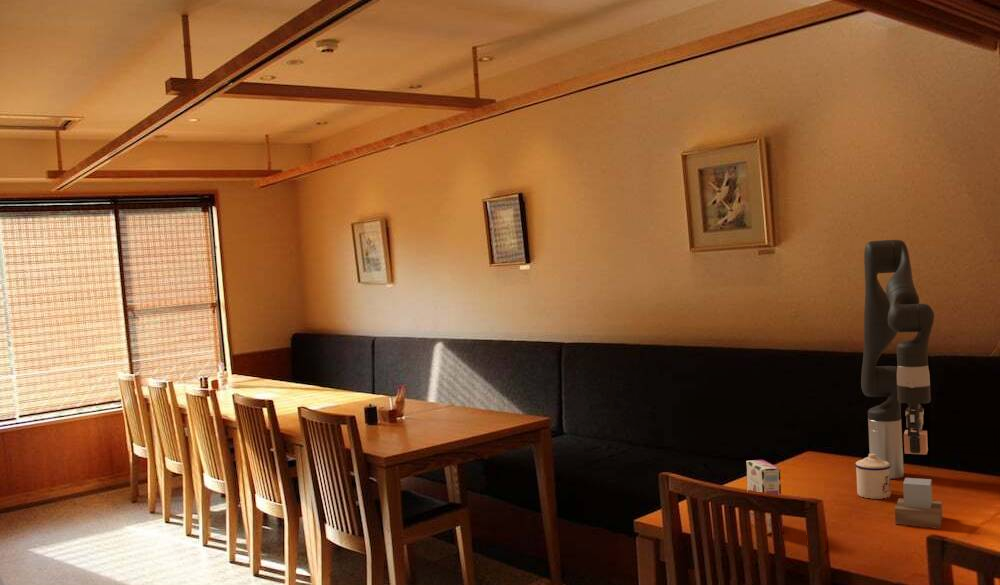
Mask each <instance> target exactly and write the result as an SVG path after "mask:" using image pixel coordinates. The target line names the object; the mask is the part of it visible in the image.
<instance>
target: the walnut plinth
mask: <svg viewBox="0 0 1000 585" xmlns="http://www.w3.org/2000/svg"><path fill="white" fill-rule="evenodd" d="M897 499H898V500H897V503H896V505H895V507H894V517H895V519H894V520H895V521H894V522H895V525H896V524H901V525H900V526H907V525H912V526H911V527H917V526H919V527H920V528H928V527H932V528H931V529H939V528H940V529H941V527H942V526H941V525H942V521H943V501H942V500H941V501H939V500H932V506H931V509H921V508H909V507H904V497H903V498H900V497H899V498H897ZM902 524H903V525H902ZM940 526H941V527H940ZM919 527H918V528H919ZM934 527H935V528H934Z"/></svg>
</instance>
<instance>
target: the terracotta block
mask: <svg viewBox="0 0 1000 585" xmlns="http://www.w3.org/2000/svg"><path fill="white" fill-rule="evenodd" d="M911 432H917V431H916V430H911ZM903 446H904V448H903V449H904V451H903V452H904V454H906V455H907V454H908V455H910V454H911V455H924V456H925V455H928V451H929V447H928V430H922V431H920V453H911V452H910V438H909V437H908V429H905V430H904V433H903Z"/></svg>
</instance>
